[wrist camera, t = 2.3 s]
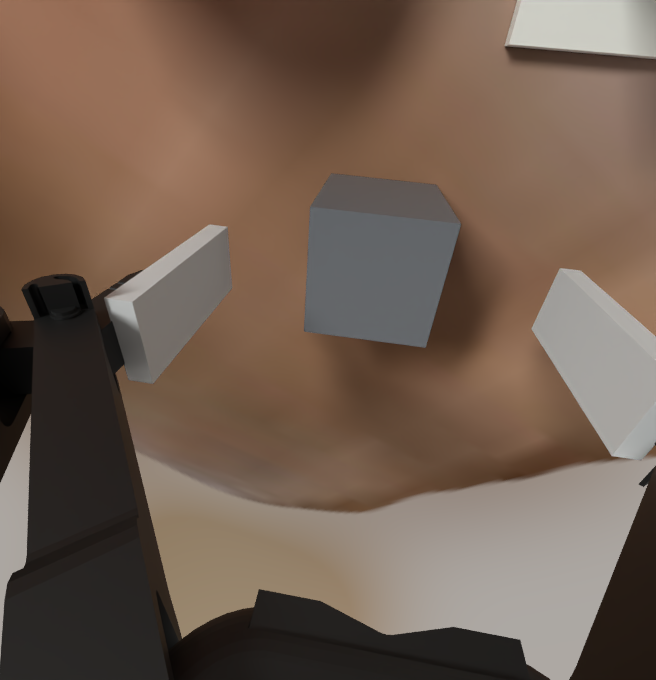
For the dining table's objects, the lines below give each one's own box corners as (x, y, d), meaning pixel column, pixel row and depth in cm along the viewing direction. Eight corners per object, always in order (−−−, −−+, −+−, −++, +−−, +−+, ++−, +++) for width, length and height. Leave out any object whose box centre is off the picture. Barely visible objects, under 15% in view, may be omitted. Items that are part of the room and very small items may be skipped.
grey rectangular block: (323, 270, 21) (304, 331, 15) (331, 173, 18) (310, 206, 13) (413, 281, 21) (425, 347, 15) (436, 184, 18) (460, 224, 12)
